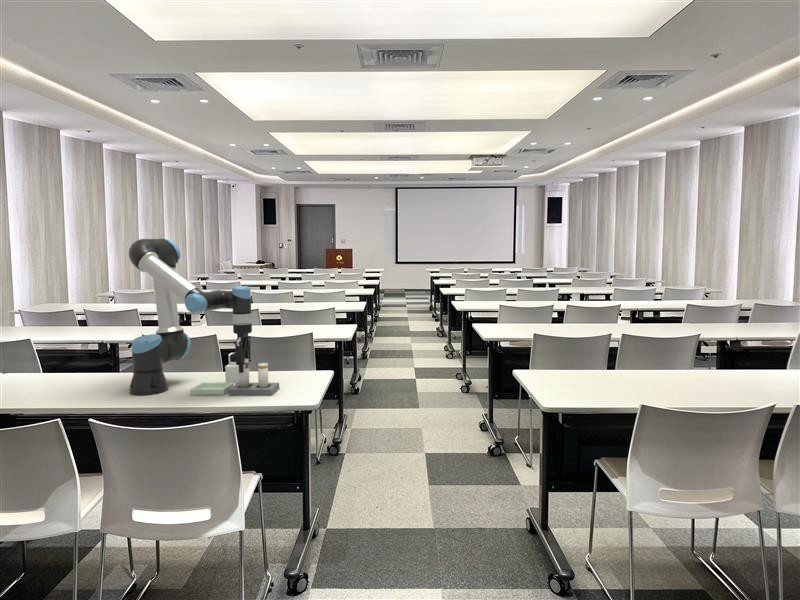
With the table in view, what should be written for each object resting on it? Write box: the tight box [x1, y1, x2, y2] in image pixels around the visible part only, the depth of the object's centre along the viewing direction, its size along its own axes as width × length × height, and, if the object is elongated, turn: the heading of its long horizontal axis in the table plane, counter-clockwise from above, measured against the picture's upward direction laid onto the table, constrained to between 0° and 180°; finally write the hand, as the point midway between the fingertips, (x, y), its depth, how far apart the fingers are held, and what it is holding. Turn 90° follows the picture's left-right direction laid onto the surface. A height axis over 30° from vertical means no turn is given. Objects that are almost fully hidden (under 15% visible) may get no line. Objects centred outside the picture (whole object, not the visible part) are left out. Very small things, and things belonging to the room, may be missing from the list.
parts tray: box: [189, 381, 235, 397], centre depth 245 cm, size 14×12×2 cm
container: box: [224, 351, 239, 384], centre depth 263 cm, size 8×8×13 cm
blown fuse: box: [239, 358, 250, 388], centre depth 244 cm, size 4×4×12 cm
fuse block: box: [227, 382, 280, 397], centre depth 244 cm, size 18×12×2 cm, turn 87°
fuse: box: [257, 362, 269, 388], centre depth 244 cm, size 4×4×12 cm
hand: (244, 378), depth 244 cm, fingers closed on blown fuse, 4 cm apart
